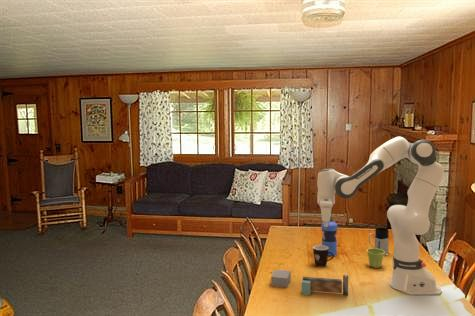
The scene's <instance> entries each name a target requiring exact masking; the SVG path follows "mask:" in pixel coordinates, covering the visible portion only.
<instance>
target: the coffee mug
mask: <svg viewBox="0 0 475 316" xmlns="http://www.w3.org/2000/svg"><path fill="white" fill-rule="evenodd" d="M328 249H329V248H328V247H327V246H323V245H322V244H318V245H314V246H312V250H313V251H312V252H313V259H314V260H313V262H314V266H316V267H320V268H323V267H327V263H328V262H330V261H331V260H333V259H334V257H335V256H333V253H331V252H328ZM328 253H331V254H332V257H330V258H329V259H328V257H327V256H328Z"/></svg>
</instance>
